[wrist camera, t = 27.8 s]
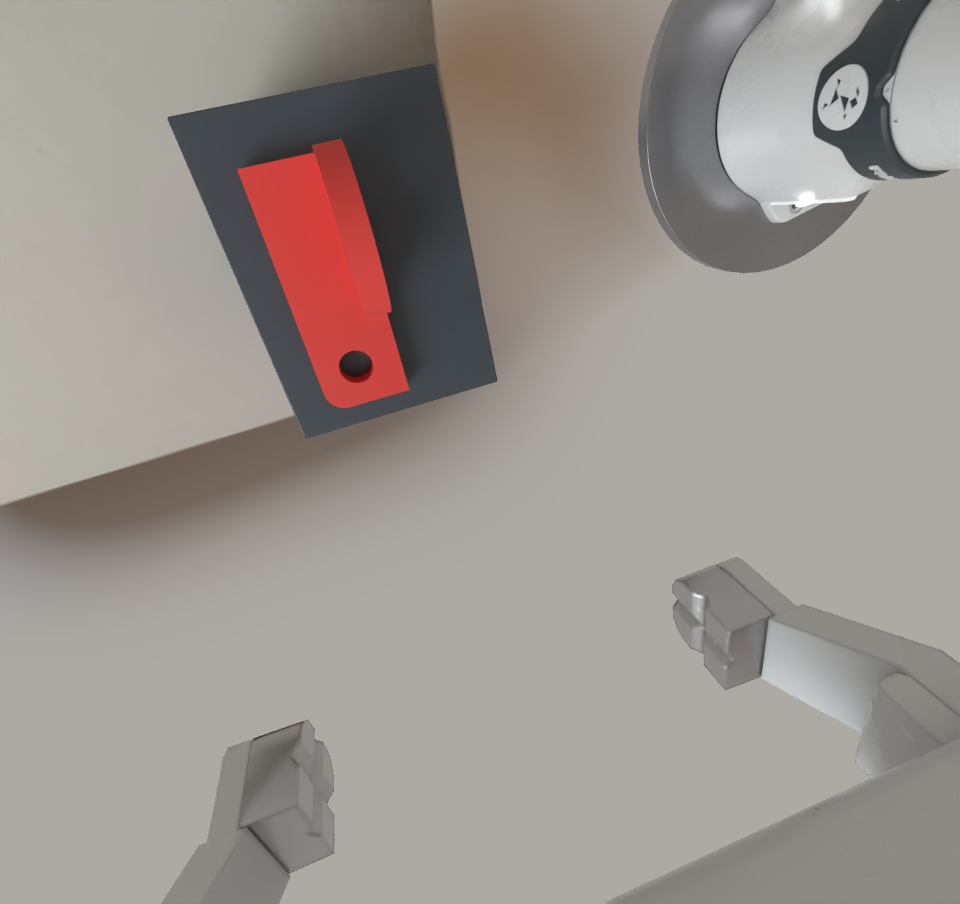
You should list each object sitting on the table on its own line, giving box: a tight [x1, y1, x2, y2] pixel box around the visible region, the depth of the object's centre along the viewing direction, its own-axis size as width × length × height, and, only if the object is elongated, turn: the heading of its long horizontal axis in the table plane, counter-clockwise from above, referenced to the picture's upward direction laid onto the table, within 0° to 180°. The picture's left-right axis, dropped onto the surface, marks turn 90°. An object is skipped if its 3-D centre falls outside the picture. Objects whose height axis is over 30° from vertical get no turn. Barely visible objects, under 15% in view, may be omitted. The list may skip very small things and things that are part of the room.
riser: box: [167, 64, 497, 438], centre depth 33 cm, size 12×16×16 cm
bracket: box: [237, 139, 409, 408], centre depth 23 cm, size 12×4×8 cm, turn 12°
